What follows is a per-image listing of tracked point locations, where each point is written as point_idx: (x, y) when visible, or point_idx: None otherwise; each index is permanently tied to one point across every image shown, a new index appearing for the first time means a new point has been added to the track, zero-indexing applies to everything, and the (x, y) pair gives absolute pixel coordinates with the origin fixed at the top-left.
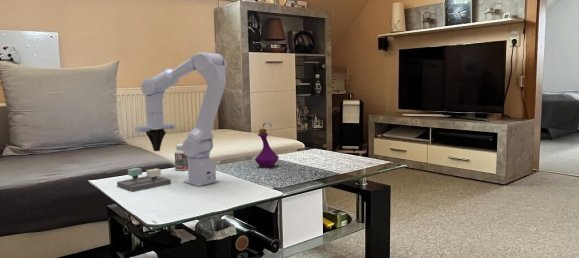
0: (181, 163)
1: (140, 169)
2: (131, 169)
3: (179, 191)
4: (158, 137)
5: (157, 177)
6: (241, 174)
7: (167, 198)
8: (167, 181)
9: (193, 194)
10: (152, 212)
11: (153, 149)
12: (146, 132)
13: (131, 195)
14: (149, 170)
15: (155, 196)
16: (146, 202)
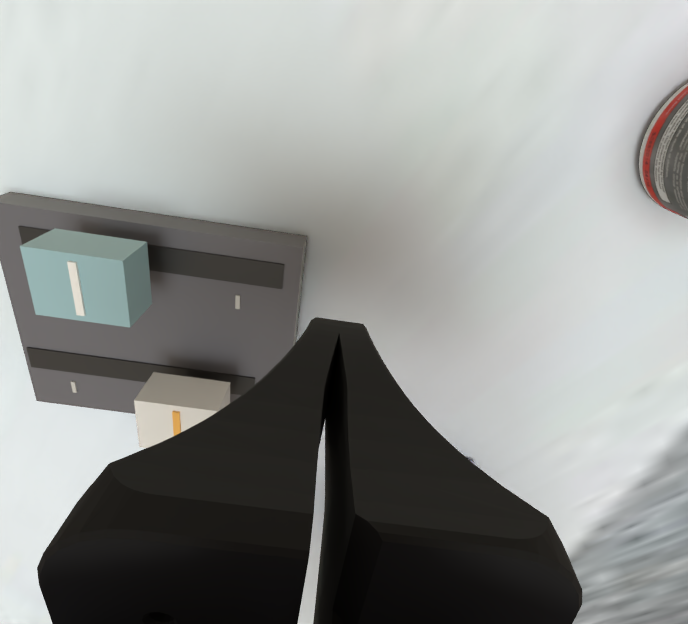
0: (684, 206)
1: (121, 322)
2: (47, 279)
3: None
4: (320, 576)
5: (264, 335)
6: (633, 542)
7: None
8: None
9: None
10: (27, 601)
11: (307, 328)
12: (59, 559)
13: (27, 426)
14: (146, 422)
15: None
16: (48, 532)
